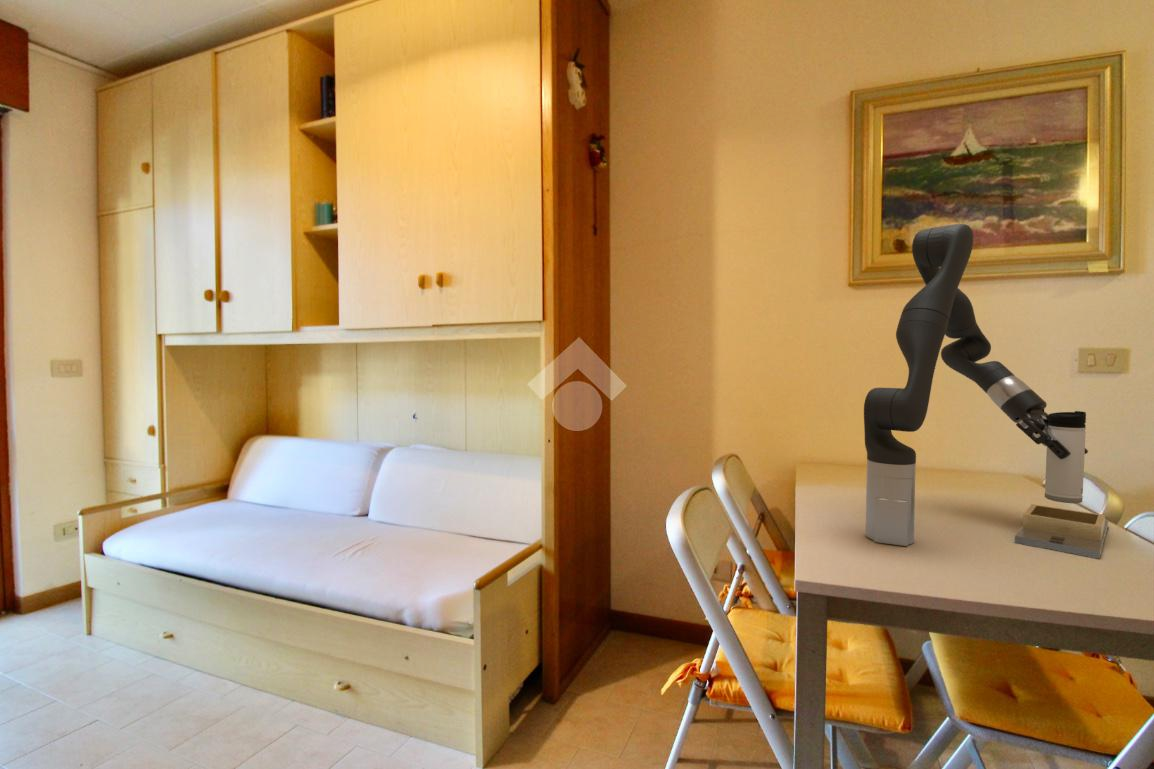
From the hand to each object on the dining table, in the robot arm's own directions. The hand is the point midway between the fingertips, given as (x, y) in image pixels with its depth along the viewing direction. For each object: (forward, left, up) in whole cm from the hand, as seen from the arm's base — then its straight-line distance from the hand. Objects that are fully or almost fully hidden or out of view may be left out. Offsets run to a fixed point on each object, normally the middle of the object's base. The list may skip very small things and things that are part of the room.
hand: (1074, 455), depth 116 cm
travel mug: (+1, +1, -11) cm, 11 cm away
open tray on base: (+1, +1, -18) cm, 18 cm away
